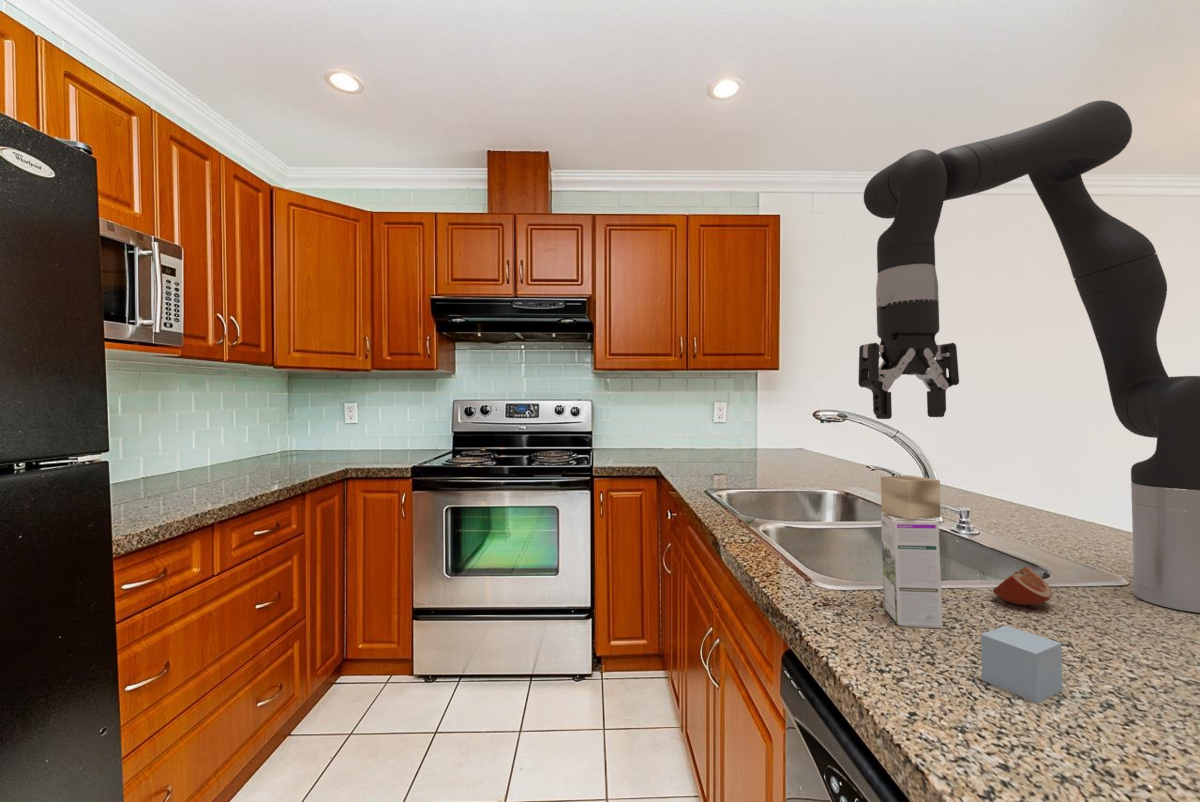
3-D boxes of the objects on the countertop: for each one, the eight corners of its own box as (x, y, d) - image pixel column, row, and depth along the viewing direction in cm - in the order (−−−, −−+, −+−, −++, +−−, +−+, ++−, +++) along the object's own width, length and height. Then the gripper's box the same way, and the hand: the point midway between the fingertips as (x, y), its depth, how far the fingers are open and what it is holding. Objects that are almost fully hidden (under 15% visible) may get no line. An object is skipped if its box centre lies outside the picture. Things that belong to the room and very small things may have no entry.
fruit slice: (1004, 591, 82) (1003, 559, 82) (1059, 603, 77) (1058, 570, 77) (985, 604, 77) (984, 570, 77) (1043, 618, 72) (1042, 582, 72)
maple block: (911, 510, 75) (910, 475, 75) (940, 517, 70) (939, 480, 70) (881, 511, 74) (880, 476, 74) (908, 519, 69) (908, 481, 69)
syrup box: (944, 629, 69) (942, 519, 69) (895, 626, 70) (893, 518, 70) (926, 612, 74) (924, 510, 74) (881, 609, 75) (879, 509, 75)
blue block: (1007, 669, 58) (1006, 625, 58) (1062, 691, 54) (1061, 643, 54) (981, 680, 56) (980, 634, 56) (1037, 704, 52) (1036, 654, 52)
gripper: (927, 308, 78) (931, 416, 78) (844, 306, 75) (847, 418, 75) (973, 298, 71) (976, 417, 70) (882, 295, 68) (885, 420, 67)
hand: (910, 418), depth 73 cm, fingers open, 8 cm apart
